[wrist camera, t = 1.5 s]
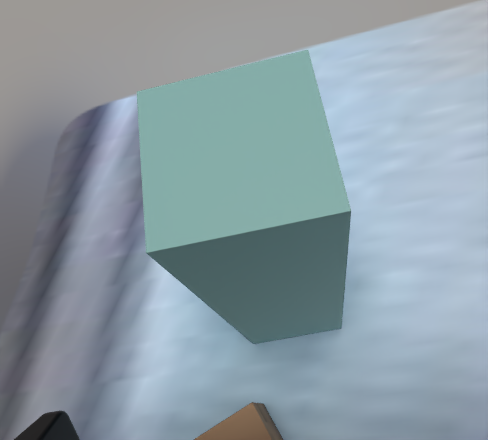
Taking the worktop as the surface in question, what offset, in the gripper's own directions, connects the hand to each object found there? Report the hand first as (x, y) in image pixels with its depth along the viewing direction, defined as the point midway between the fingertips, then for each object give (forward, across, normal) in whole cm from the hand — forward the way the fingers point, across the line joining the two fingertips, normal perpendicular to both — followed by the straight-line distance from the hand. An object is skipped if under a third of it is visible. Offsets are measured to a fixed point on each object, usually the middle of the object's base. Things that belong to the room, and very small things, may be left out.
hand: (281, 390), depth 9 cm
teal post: (+11, 0, +5) cm, 12 cm away
